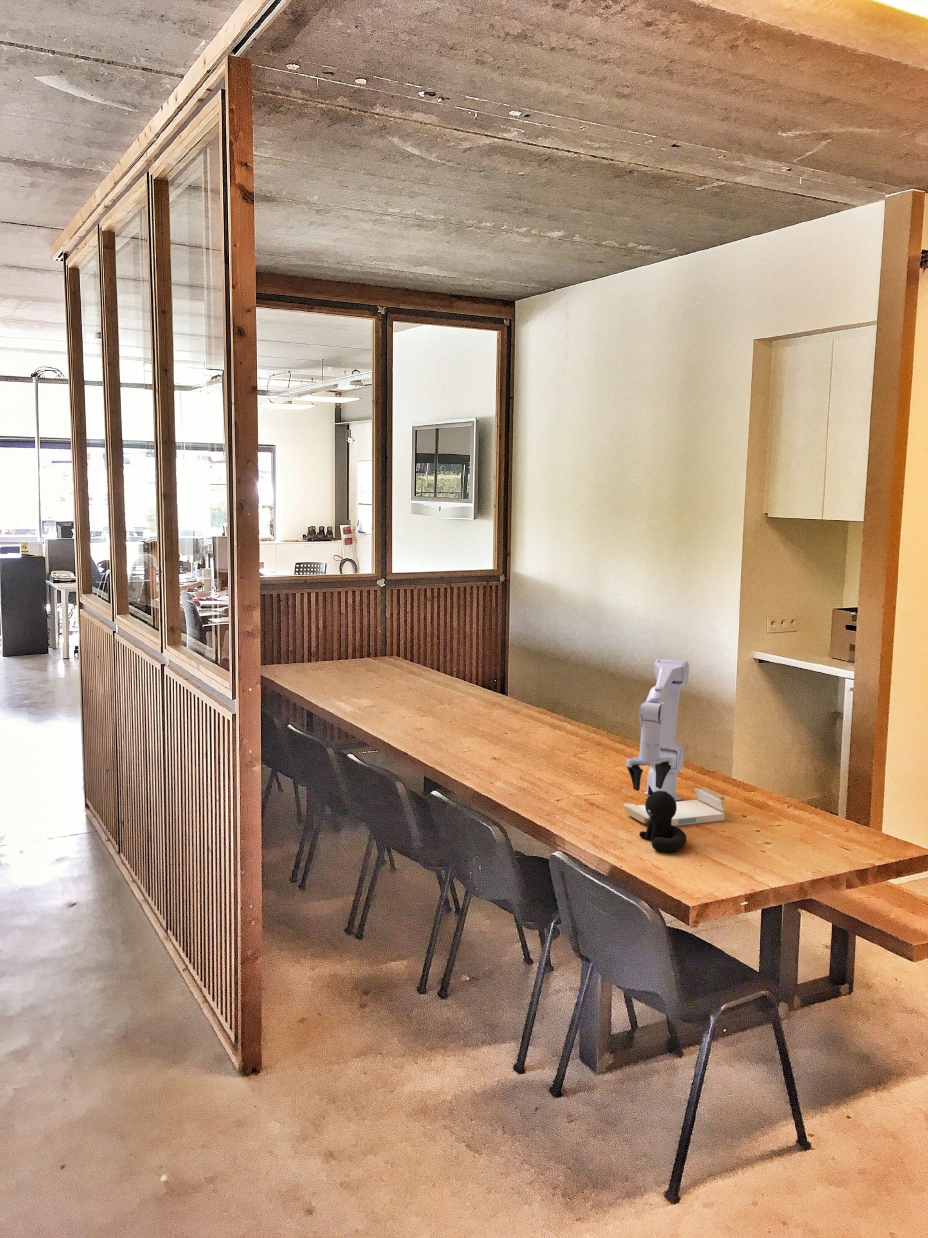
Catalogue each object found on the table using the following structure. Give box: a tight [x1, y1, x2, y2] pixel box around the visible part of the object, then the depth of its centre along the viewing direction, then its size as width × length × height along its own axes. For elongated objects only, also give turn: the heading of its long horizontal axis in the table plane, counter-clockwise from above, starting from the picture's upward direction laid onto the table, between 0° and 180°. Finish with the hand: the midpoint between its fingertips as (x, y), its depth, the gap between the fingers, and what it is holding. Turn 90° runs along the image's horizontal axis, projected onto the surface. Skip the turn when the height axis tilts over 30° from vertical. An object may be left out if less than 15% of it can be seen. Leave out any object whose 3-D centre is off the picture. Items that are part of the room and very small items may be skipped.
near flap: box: [623, 802, 650, 825], centre depth 295 cm, size 13×4×2 cm, turn 22°
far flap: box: [694, 786, 726, 813], centre depth 304 cm, size 13×4×2 cm
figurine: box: [639, 786, 687, 853], centre depth 276 cm, size 16×14×15 cm
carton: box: [637, 799, 725, 827], centre depth 300 cm, size 14×22×2 cm, turn 112°
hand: (647, 789), depth 295 cm, fingers open, 7 cm apart
